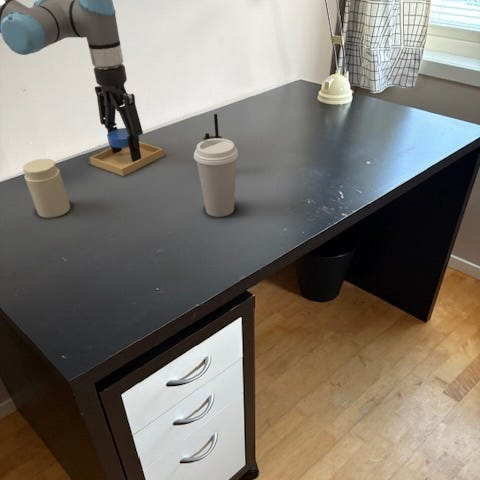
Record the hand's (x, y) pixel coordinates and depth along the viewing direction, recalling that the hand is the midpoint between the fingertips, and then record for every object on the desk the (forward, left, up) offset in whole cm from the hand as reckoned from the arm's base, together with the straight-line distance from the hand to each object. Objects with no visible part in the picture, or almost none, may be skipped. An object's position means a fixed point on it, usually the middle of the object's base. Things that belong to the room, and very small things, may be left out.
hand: (126, 155), depth 131 cm
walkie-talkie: (+26, +7, -1) cm, 27 cm away
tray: (0, 0, -1) cm, 1 cm away
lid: (0, 0, +6) cm, 6 cm away
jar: (+6, -29, -1) cm, 30 cm away
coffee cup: (+39, -7, -1) cm, 40 cm away
